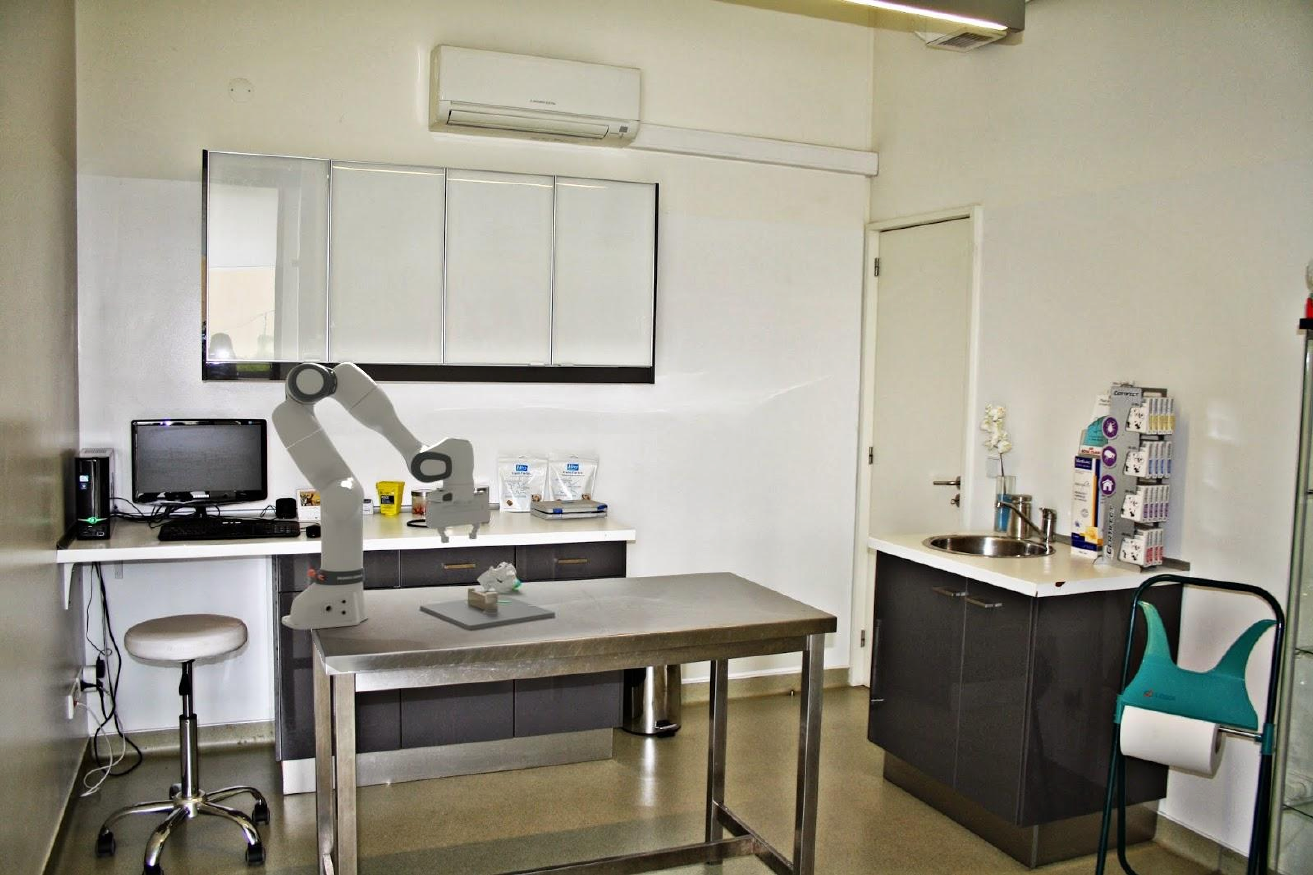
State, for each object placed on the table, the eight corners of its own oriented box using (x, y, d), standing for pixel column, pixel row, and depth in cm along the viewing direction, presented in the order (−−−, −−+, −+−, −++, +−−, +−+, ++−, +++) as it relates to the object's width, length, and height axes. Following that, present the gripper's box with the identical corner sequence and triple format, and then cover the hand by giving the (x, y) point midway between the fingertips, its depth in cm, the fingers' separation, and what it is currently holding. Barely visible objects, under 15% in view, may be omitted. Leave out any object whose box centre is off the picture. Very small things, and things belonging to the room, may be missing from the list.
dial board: (469, 630, 269) (469, 624, 269) (420, 609, 290) (420, 605, 290) (554, 616, 288) (554, 611, 288) (502, 598, 309) (502, 594, 309)
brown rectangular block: (489, 613, 283) (489, 595, 282) (464, 603, 293) (464, 586, 293) (500, 611, 285) (500, 593, 285) (475, 602, 296) (475, 585, 295)
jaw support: (504, 586, 312) (490, 562, 316) (491, 603, 316) (476, 579, 320) (532, 581, 321) (518, 558, 325) (518, 598, 325) (504, 575, 329)
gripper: (482, 489, 297) (482, 535, 298) (422, 495, 282) (422, 543, 283) (494, 491, 292) (495, 538, 293) (434, 497, 278) (434, 546, 279)
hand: (459, 540), depth 288 cm, fingers open, 8 cm apart
